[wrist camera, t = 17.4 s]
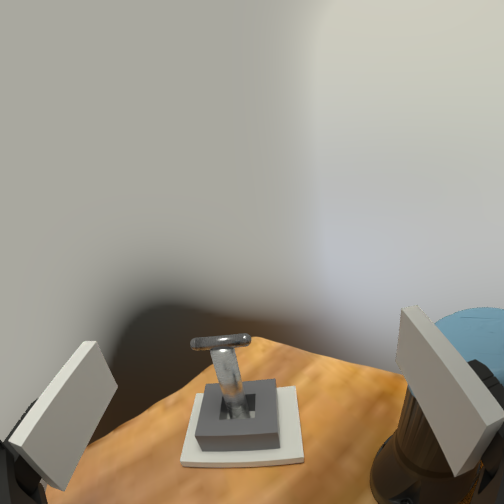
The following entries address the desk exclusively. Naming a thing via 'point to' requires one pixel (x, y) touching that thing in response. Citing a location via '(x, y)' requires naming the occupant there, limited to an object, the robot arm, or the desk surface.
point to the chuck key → (227, 369)
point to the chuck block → (244, 429)
